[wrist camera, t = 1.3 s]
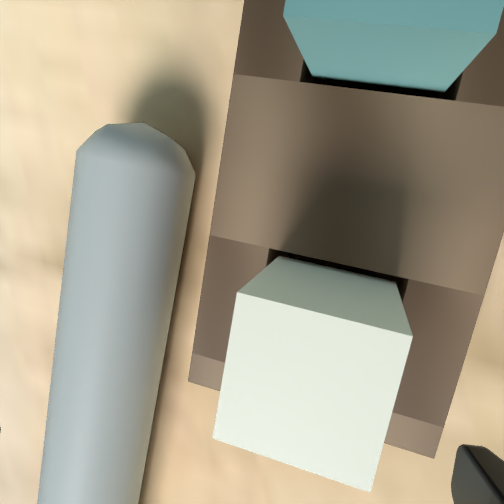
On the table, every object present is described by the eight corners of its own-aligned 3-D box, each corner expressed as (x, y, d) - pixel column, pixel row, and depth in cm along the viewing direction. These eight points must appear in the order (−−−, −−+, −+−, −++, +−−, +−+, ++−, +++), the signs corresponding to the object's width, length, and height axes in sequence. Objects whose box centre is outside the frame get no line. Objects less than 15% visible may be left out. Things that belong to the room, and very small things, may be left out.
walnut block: (534, -32, 15) (616, -135, 10) (415, 386, 18) (434, 458, 13) (292, -44, 17) (264, -134, 12) (229, 334, 20) (187, 381, 15)
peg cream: (395, 281, 13) (412, 336, 9) (368, 389, 14) (369, 492, 9) (279, 255, 14) (236, 292, 10) (259, 358, 15) (212, 438, 10)
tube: (50, 101, 17) (4, 577, 22) (135, 116, 14) (60, 656, 19) (149, 126, 21) (91, 517, 26) (228, 141, 18) (146, 574, 24)
